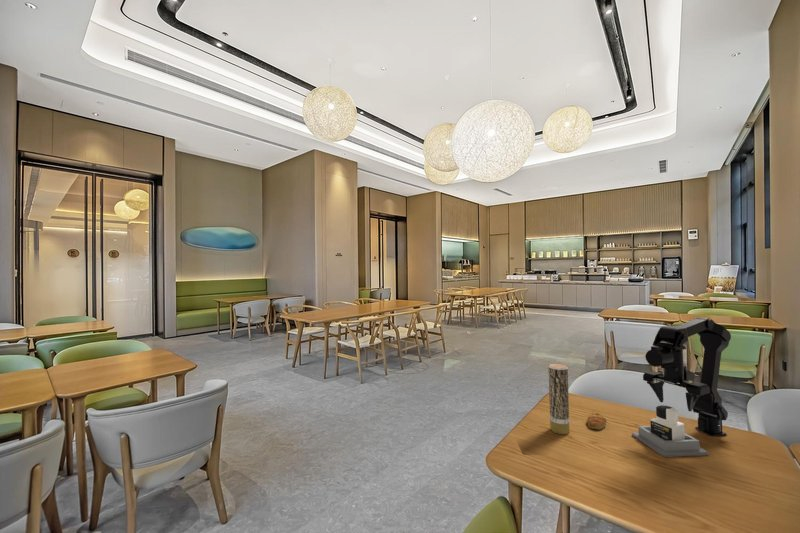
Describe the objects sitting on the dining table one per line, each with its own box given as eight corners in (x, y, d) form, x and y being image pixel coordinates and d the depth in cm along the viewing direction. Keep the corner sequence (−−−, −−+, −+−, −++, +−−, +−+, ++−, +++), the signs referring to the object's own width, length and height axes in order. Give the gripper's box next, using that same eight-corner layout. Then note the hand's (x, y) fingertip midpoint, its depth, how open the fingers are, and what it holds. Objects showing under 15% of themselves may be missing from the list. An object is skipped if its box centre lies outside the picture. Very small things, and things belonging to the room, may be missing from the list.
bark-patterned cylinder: (565, 427, 137) (563, 363, 137) (572, 435, 130) (570, 368, 130) (547, 427, 137) (546, 363, 138) (553, 435, 131) (551, 368, 131)
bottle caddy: (671, 434, 129) (671, 423, 129) (708, 455, 114) (707, 442, 114) (632, 435, 129) (631, 424, 129) (663, 456, 114) (663, 444, 114)
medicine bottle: (650, 439, 124) (649, 405, 124) (663, 435, 126) (662, 402, 126) (672, 448, 117) (671, 412, 117) (685, 444, 119) (684, 409, 120)
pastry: (605, 432, 132) (604, 422, 132) (585, 428, 136) (584, 419, 136) (606, 423, 140) (606, 414, 140) (588, 420, 143) (587, 410, 144)
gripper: (718, 365, 118) (721, 411, 118) (660, 354, 135) (662, 394, 135) (698, 370, 114) (700, 418, 114) (641, 358, 131) (643, 399, 131)
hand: (675, 406), depth 123 cm, fingers open, 9 cm apart
